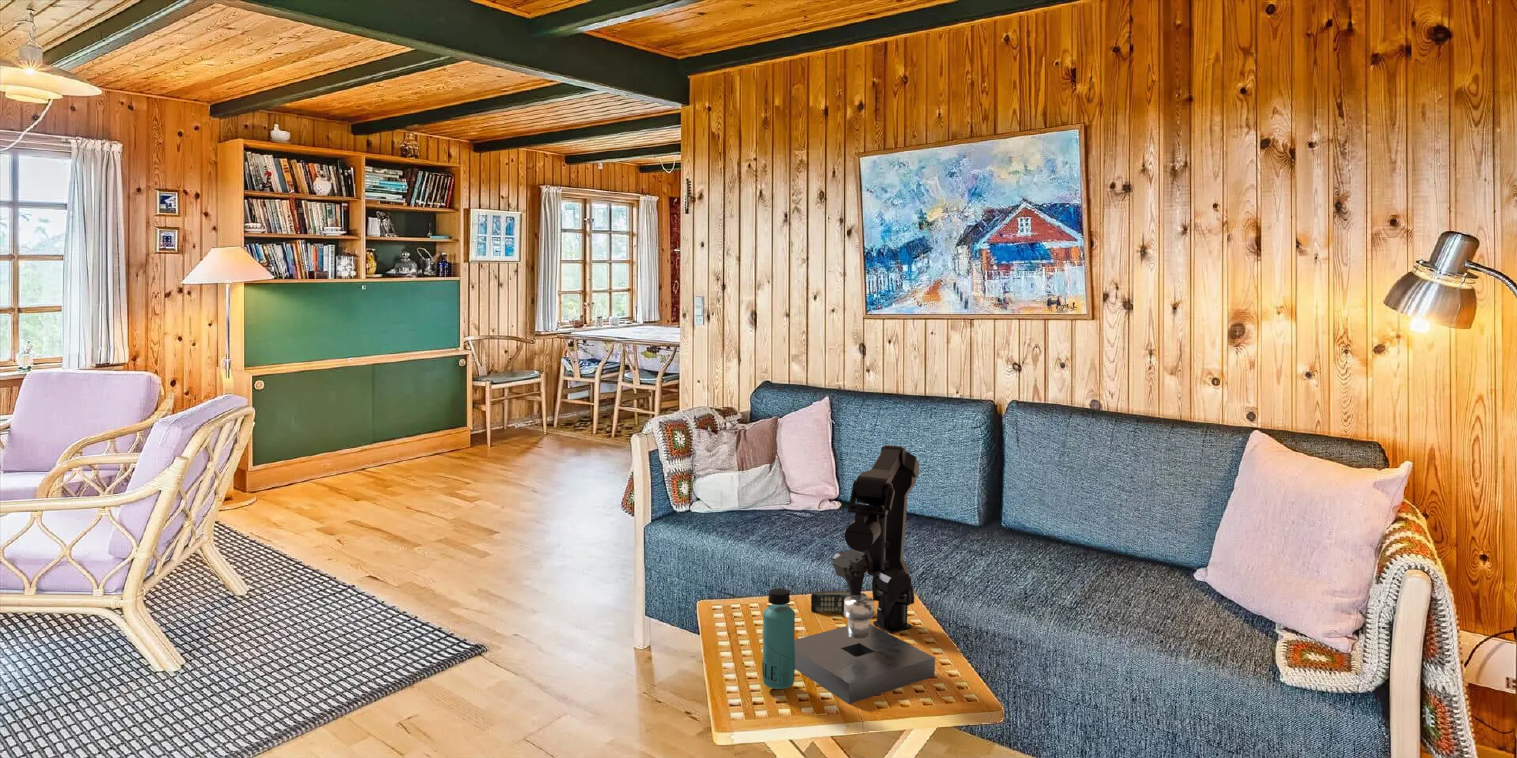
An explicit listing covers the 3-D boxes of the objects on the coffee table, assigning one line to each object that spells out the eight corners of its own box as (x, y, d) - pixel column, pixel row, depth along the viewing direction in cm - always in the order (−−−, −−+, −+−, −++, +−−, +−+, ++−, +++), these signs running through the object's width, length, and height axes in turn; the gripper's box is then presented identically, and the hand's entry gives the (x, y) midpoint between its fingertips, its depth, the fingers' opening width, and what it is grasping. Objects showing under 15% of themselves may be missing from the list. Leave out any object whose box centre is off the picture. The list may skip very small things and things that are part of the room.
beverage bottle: (799, 684, 173) (800, 586, 171) (789, 699, 167) (790, 598, 165) (767, 679, 175) (768, 582, 173) (756, 694, 169) (757, 593, 167)
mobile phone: (811, 594, 210) (874, 594, 209) (810, 590, 213) (872, 589, 212) (811, 614, 210) (874, 614, 210) (810, 609, 213) (872, 609, 213)
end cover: (860, 626, 184) (861, 592, 183) (879, 636, 179) (879, 601, 178) (837, 632, 180) (838, 598, 180) (856, 642, 175) (856, 607, 175)
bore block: (864, 638, 196) (864, 621, 195) (934, 676, 177) (935, 657, 177) (782, 660, 184) (783, 642, 183) (849, 704, 165) (849, 684, 165)
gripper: (812, 531, 182) (811, 603, 184) (870, 556, 167) (868, 634, 169) (854, 523, 188) (853, 593, 190) (914, 546, 173) (911, 622, 175)
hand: (869, 610), depth 181 cm, fingers open, 9 cm apart
